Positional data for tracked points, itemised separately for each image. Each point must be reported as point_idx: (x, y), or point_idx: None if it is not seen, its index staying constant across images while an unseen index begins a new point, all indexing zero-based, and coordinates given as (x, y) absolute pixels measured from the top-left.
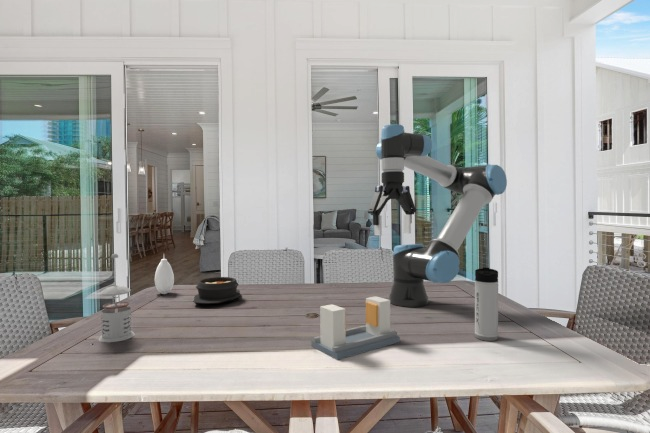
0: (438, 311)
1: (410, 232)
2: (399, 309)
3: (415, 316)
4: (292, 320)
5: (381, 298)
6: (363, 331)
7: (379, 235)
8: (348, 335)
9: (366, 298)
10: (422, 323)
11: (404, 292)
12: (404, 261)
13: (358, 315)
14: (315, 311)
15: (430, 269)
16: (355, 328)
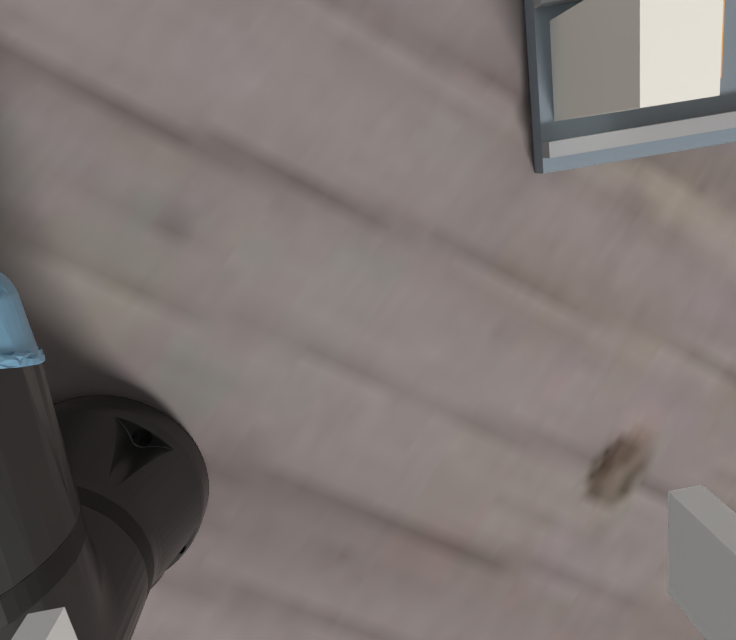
0: (57, 288)
1: (26, 625)
2: (226, 398)
3: (223, 268)
4: (717, 439)
5: (652, 37)
6: (618, 123)
7: (703, 493)
8: (703, 105)
9: (718, 90)
10: (261, 157)
11: (150, 471)
12: (78, 605)
13: (453, 392)
14: (577, 513)
15: (11, 319)
16: (666, 125)
